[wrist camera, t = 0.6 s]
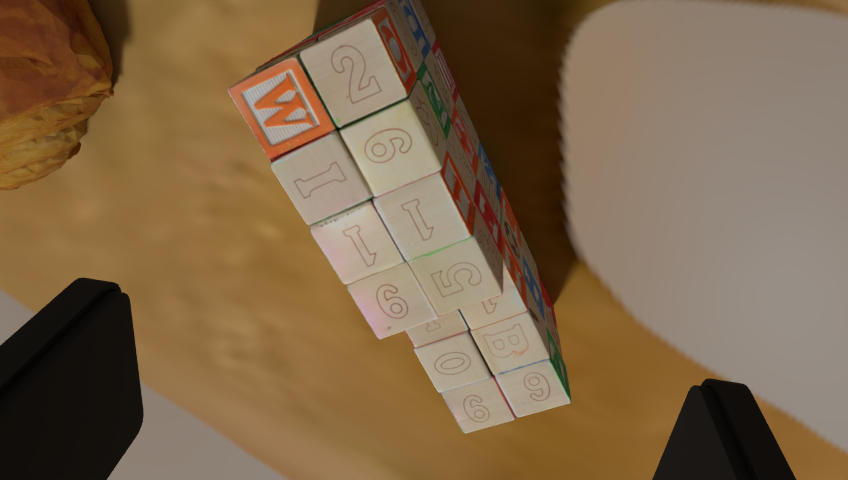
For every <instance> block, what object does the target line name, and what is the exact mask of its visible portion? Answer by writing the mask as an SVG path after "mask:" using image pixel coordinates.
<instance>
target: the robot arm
mask: <svg viewBox="0 0 848 480" xmlns="http://www.w3.org/2000/svg"><path fill="white" fill-rule="evenodd" d="M142 422H143V404H142V396H141V387H140V379H139V371H138V363H137V355H136V346H135V338H134V330H133V322H132V313H131V305H130V299H129V296H128V295H127V294H125V293H121V289H120V287H119V285H118V284H116V283H114V282H108V281H102V280H95V279H89V278H78V279H77V280H75V281H73V282H72V283H71V284H70V285H69V286H68V287H67V288H65V289H64V290H63V291H62V292H61V293H60V294H59V295H57V296H56V297H55V298H54V299H53V300H52V301H51V302H50V303H48V304H47V305H46V306H45V307H44V308H43V309H42V310H40V311H39V312H38V313H37V314H36V315H35V316H34V317H33V318H31V319H30V320H29V321H28V322H27V323H26V324H24V325H23V326H22V327H21V328H20V329H19V330H18V331H16V332H15V333H14V334H13V335H12V336H11V337H10V338H8V339H7V340H6V341H5V342H4V343H3V344H2V345H0V480H107V478H108V477H109V475H110V474H111V472H112V471H113V470H114V468H115V467H116V465H117V464H118V462H119V461H120V459H121V458H122V456H123V455H124V454H125V452H126V451H127V449H128V448H129V446H130V445H131V443H132V442H133V440H134V439H135V438H136V436H137V434H138V433H139V431H140V428H141V425H142ZM652 480H796V478H795V476H794V474H793V472H792V470H791V469H790V467H789V465H788V463H787V461H786V459H785V457H784V455H783V453H782V451H781V449H780V447H779V445H778V443H777V441H776V439H775V438H774V436H773V434H772V432H771V430H770V428H769V426H768V424H767V422H766V420H765V418H764V416H763V414H762V412H761V410H760V409H759V407H758V405H757V403H756V401H755V399H754V397H753V395H752V393H751V391H750V390H749V388H748V387H747V386H746V385H744V384H741V383H735V382H728V381H722V380H716V379H710V378H709V379H706V380H705V381H704V382H703V383H702V384H701V386H696V385H695V386H692V387H691V388H690V390H689V392H688V394H687V397H686V399H685V402H684V404H683V407H682V409H681V411H680V414H679V416H678V419H677V421H676V424H675V426H674V428H673V431H672V433H671V436H670V438H669V440H668V443H667V445H666V448H665V450H664V453H663V455H662V457H661V460H660V462H659V465H658V467H657V470H656V472H655V474H654V477H653V479H652Z"/></svg>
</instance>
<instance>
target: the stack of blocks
mask: <svg viewBox="0 0 848 480" xmlns="http://www.w3.org/2000/svg"><path fill="white" fill-rule="evenodd" d="M228 92H229V94H230V96H231V97H232V99H233V101H234V103H235V104H236V106H237V107H238V109H239V111H240V112H241V114H242V116H243V117H244V119H245V120H246V122H247V124H248V125H249V127H250V129H251V131H252V132H253V134H254V136H255V137H256V139H257V140H258V142H259V144H260V145H261V147H262V149H263V150H264V152H265V154H266V155H267V157H268V158H269V159H271V169H272V170H273V172H274V173H275V175H276V176H277V178H278V180H279V181H280V183H281V185H282V186H283V188H284V189H285V191H286V192H287V194H288V196H289V197H290V199H291V201H292V202H293V204H294V205H295V207H296V209H297V210H298V212H299V213H300V215H301V216H302V218H303V219H304V221H305V222H306V224H307V225H310V232H311V234H312V236H313V237H314V239H315V241H316V243H317V244H318V246H319V247H320V248H321V250H322V252H323V253H324V255H325V256H326V258H327V260H328V261H329V263H330V264H331V266H332V267H333V269H334V271H335V272H336V274H337V276H338V277H339V279H340V280H341V281H342V283H344V284H345V285H346V286H347V289H348V292H349V293H350V295H351V296H352V298H353V300H354V301H355V303H356V304H357V306H358V307H359V309H360V311H361V312H362V314H363V315H364V317H365V319H366V320H367V322H368V323H369V325H370V327H371V328H372V330H373V331H374V333H375V334H376V336H377V338H378V339H383V338H385V337H388V336H391V335H393V334H396V333H399V332H402V331H405V332H406V334H407V336H408V338H409V339H410V341H411V343H412V345H413V346H414V351H415V353H416V355H417V356H418V358H419V360H420V362H421V363H422V365H423V367H424V369H425V370H426V372H427V374H428V376H429V377H430V379H431V381H432V383H433V384H434V386H435V388H436V389H437V391H438V392H439V393H441V394H442V396H443V398H444V400H445V402H446V404H447V405H448V407H449V409H450V410H451V412H452V414H453V416H454V418H455V419H456V421H457V423H458V424H459V426H460V428H461V430H462V431H463V433H469V432H473V431H476V430H480V429H483V428H487V427H490V426H494V425H497V424H501V423H505V422H509V421H512V420H514V419H515V418H516V417H522V416H526V415H530V414H533V413H537V412H540V411H544V410H547V409H551V408H555V407H558V406H561V405H565V404H568V403H570V402H571V396H570V389H569V383H568V377H567V371H566V366H565V364H564V362H563V359H562V352H561V345H560V339H559V334H558V331H557V326H556V318H555V313H554V307H553V304H552V302H551V300H550V298H549V296H548V294H547V291H546V289H545V287H544V285H543V283H542V281H541V278H540V276H539V274H538V270H537V266H536V264H535V262H534V259H533V257H532V255H531V252H530V250H529V248H528V246H527V243H526V241H525V239H524V237H523V234H522V232H521V231H520V228H519V225H518V223H517V220H516V218H515V216H514V214H513V211H512V209H511V207H510V204H509V202H508V200H507V198H506V195H505V193H504V191H503V188H502V187H501V186H500V185H499V183H498V180H497V178H496V176H495V173H494V171H493V169H492V167H491V164H490V162H489V160H488V158H487V155H486V153H485V151H484V148H483V146H482V144H481V142H480V141H479V139H478V136H477V133H476V131H475V129H474V127H473V124H472V122H471V120H470V117H469V115H468V113H467V111H466V108H465V106H464V104H463V102H462V99H461V97H460V95H459V93H458V87H457V85H456V83H455V80H454V78H453V76H452V73H451V71H450V69H449V67H448V64H447V62H446V60H445V57H444V55H443V53H442V50H441V48H440V46H439V44H438V41H437V39H436V36H435V33H434V31H433V28H432V26H431V24H430V21H429V19H428V17H427V14H426V12H425V10H424V8H423V5H422V3H421V1H420V0H378V1H376V2H374V3H372V4H370V5H368V6H366V7H364V8H363V9H361V10H359V11H358V12H357V13H355V14H353V15H351V16H349V17H347V18H345V19H342V20H340V21H338V22H336V23H334V24H332V25H330V26H328V27H326V28H324V29H322V30H320V31H318V32H316V33H314V34H312V35H310V36H309V37H307V38H306V39H304V40H303V41H301V42H300V43H298V44H297V45H295V46H293V47H291V48H290V49H288V50H287V51H285V52H283V53H282V54H280V55H278V56H276V57H274V58H272V59H271V60H270V61H268V62H266V63H264V64H263V65H261V66H259V67H258V68H257V69H256V71H255V72H253V73H252V74H250V75H249V76H247V77H245V78H244V79H242V80H241V81H239V82H238V83H236V84H234V85H233V86H231V87H230V88H229V89H228Z"/></svg>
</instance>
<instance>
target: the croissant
mask: <svg viewBox="0 0 848 480" xmlns="http://www.w3.org/2000/svg"><path fill="white" fill-rule="evenodd" d="M112 72H113V66H112V59H111V57H110V51H109V46H108V44H107V42H106V40H105V38H104V35H103V32H102V29H101V26H100V24H99V23H98V21H97V19H96V18H95V16H94V14H93V11H92V9H91V7H90V5H89V3H88V1H87V0H0V190H13V189H17V188H19V187H20V186H22V185H25V184H28V183H31V182H34V181H37V180H39V179H41V178H43V177H45V176H47V175H48V174H50V173H51V172H53V171H55V170H57V169H59V168H61V167H62V166H63V164H64V163H65V162H66V160H68V159H71V157H73V156H74V155H76V154H77V153H78V152H79V150H80V147H81V143H80V142H79V140H80V139H81V138H82V137H83V135H84V133H85V132H86V120H85V119H87V118H89V117H91V116H92V115H94V114H95V112H96V111H97V109H98V108H99V106H100V104H101V102H102V101H103V100H104V99H105V98H109V96H114V91H113V88H112V84H111V76H112Z"/></svg>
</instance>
